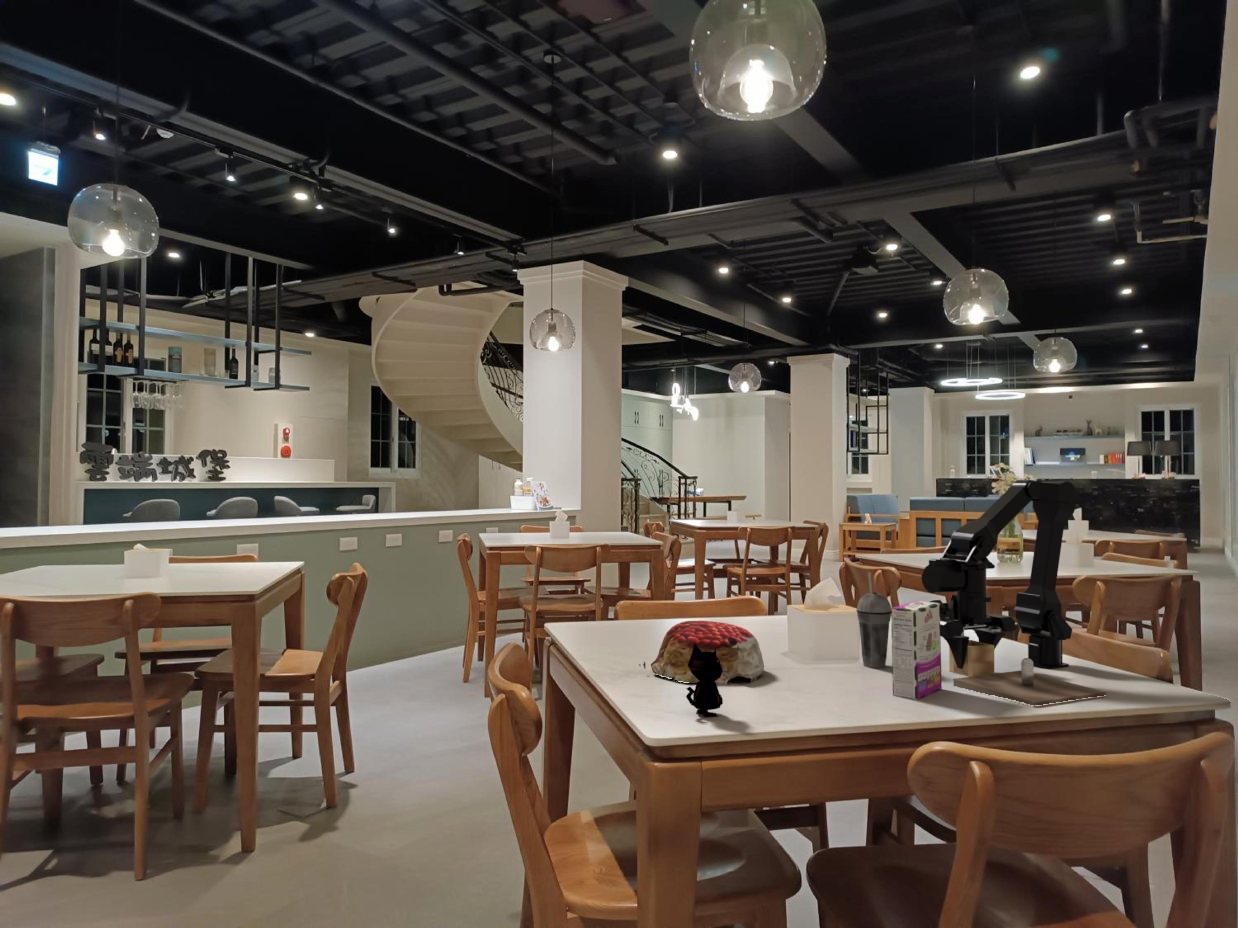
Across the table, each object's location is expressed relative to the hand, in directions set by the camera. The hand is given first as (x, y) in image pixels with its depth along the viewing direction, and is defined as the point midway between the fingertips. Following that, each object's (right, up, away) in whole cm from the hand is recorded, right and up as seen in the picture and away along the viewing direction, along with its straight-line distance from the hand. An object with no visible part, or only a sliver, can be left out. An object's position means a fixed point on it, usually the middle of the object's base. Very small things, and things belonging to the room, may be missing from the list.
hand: (971, 666), depth 167 cm
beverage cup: (-18, -2, +7) cm, 19 cm away
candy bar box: (-17, -1, -16) cm, 23 cm away
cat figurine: (-58, -1, -32) cm, 67 cm away
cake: (-55, -2, +1) cm, 55 cm away
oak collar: (0, -1, 0) cm, 1 cm away
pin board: (+4, -1, -16) cm, 16 cm away
